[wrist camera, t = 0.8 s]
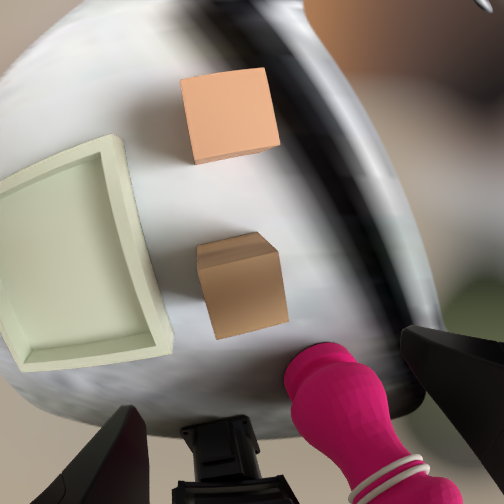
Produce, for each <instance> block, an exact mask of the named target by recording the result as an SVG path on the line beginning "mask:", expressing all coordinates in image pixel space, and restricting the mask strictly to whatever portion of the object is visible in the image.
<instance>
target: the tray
mask: <svg viewBox="0 0 504 504" xmlns="http://www.w3.org/2000/svg"><path fill="white" fill-rule="evenodd" d="M0 333H1V335H2V337H3V339H4V341H5V343H6V345H7V347H8V349H9V351H10V353H11V354H12V356H13V358H14V360H15V362H16V363H17V365H18V367H19V369H20V370H21V372H37V371H51V370H62V369H73V368H82V367H91V366H99V365H106V364H114V363H121V362H127V361H134V360H140V359H146V358H152V357H158V356H163V355H169V354H172V350H173V341H174V331H173V328H172V326H171V323H170V320H169V317H168V314H167V311H166V308H165V305H164V302H163V299H162V296H161V293H160V290H159V287H158V283H157V280H156V277H155V274H154V270H153V267H152V263H151V260H150V257H149V253H148V249H147V246H146V242H145V238H144V235H143V231H142V227H141V223H140V219H139V215H138V211H137V206H136V202H135V198H134V193H133V189H132V184H131V179H130V174H129V169H128V164H127V159H126V154H125V148H124V142H123V139H121V138H119V137H117V136H115V135H113V134H108V135H105V136H102V137H99V138H97V139H94V140H91V141H88V142H85V143H83V144H80V145H78V146H75V147H72V148H70V149H67V150H65V151H62V152H60V153H58V154H55V155H53V156H51V157H48V158H46V159H44V160H42V161H39V162H37V163H35V164H33V165H31V166H29V167H27V168H25V169H23V170H21V171H19V172H17V173H15V174H13V175H11V176H9V177H7V178H5V179H3V180H2V181H0Z"/></svg>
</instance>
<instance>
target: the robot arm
mask: <svg viewBox="0 0 504 504" xmlns="http://www.w3.org/2000/svg"><path fill="white" fill-rule="evenodd" d="M400 351H401V354H402V356H403V357H404V359H405V360H406V362H407V363H408V365H409V367H410V368H411V370H412V371H413V373H414V374H415V376H416V377H417V379H418V380H419V382H420V383H421V385H422V386H423V387H424V389H425V390H426V391H427V392H428V394H429V395H430V396H431V397H432V399H433V400H434V401H435V402H436V404H437V405H438V406H439V407H440V409H441V410H442V411H443V413H444V414H445V415H446V416H447V418H448V419H449V420H450V422H451V423H452V424H453V425H454V427H455V428H456V429H457V430H458V432H459V433H460V435H461V436H462V437H463V439H464V440H465V441H466V443H467V444H468V445H469V447H470V448H471V449H472V450H473V452H474V453H475V455H476V456H477V457H478V459H479V460H480V461H481V463H482V465H483V466H484V467H485V469H486V470H487V472H488V473H489V474H490V476H491V477H492V479H493V480H494V481H495V483H496V484H497V486H498V487H499V489H500V490H501V492H502V493H503V495H504V342H497V341H493V340H487V339H481V338H476V337H471V336H465V335H460V334H454V333H450V332H445V331H440V330H435V329H430V328H425V327H420V326H415V325H411V326H408V327H406V328H404V329H403V330H402V332H401V343H400ZM180 434H181V436H182V437H183V439H184V440H185V442H186V444H187V445H188V447H189V448H190V450H191V451H192V453H193V456H194V457H193V458H194V472H195V482H185V481H178V487H177V488H174V489H172V504H299V502H298V500H297V498H296V497H295V495H294V493H293V491H292V490H291V488H290V486H289V484H288V483H287V481H286V479H285V477H284V475H277V476H276V477H269V478H262V476H261V473H260V469H259V465H258V462H257V458H256V454H259V453H260V449H259V446H258V443H257V440H256V437H255V434H254V431H253V428H252V425H251V422H250V419H249V417H248V416H241V417H237V418H232V419H227V420H222V421H217V422H212V423H207V424H201V425H195V426H188V427H183V428H181V429H180ZM30 504H150V502H149V457H148V446H147V434H146V425H145V422H144V420H143V419H142V417H141V416H140V414H139V412H138V411H137V409H136V408H135V406H133V405H123V406H121V407H120V408H119V409H118V410H117V411H116V412H115V413H114V414H113V415H112V417H111V418H110V419H109V420H108V421H107V422H106V423H105V424H104V426H103V427H102V428H101V429H100V430H99V431H98V432H97V433H96V434H95V436H94V437H93V438H92V439H91V440H90V441H89V442H88V443H87V445H86V446H85V447H84V448H83V449H82V450H81V451H80V452H79V453H78V455H77V456H76V457H75V458H74V459H73V460H72V461H71V462H70V463H69V465H68V466H67V467H66V468H65V469H64V470H63V471H62V474H59V476H58V477H57V478H56V479H55V480H54V481H53V482H52V483H51V484H50V485H49V487H47V488H46V489H45V490H44V491H43V492H42V493H41V494H40V495H39V496H38V497H37V498H36V499H34V501H32V502H31V503H30Z"/></svg>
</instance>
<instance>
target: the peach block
mask: <svg viewBox="0 0 504 504" xmlns="http://www.w3.org/2000/svg"><path fill="white" fill-rule="evenodd" d="M180 84H181V90H182V95H183V101H184V107H185V113H186V118H187V124H188V129H189V135H190V140H191V145H192V150H193V156H194V161H195V164H196V165H198V164H203V163H208V162H212V161H217V160H222V159H227V158H233V157H238V156H244V155H249V154H255V153H260V152H262V151H265V150H268V149H270V148H273V147H276V146H279V145H280V141H279V135H278V130H277V125H276V120H275V115H274V110H273V105H272V100H271V96H270V91H269V86H268V82H267V77H266V73H265V68H255V69H245V70H236V71H229V72H221V73H215V74H209V75H203V76H197V77H192V78H187V79H182V80H180Z"/></svg>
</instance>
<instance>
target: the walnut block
mask: <svg viewBox="0 0 504 504" xmlns="http://www.w3.org/2000/svg"><path fill="white" fill-rule="evenodd" d="M197 273H198V276H199V280H200V284H201V288H202V291H203V295H204V299H205V302H206V306H207V309H208V313H209V316H210V320H211V323H212V327H213V330H214V334H215V337H216V340H219V339H223V338H227V337H231V336H236V335H240V334H244V333H248V332H252V331H256V330H259V329H263V328H267V327H271V326H275V325H278V324H282V323H285V322H289V317H288V311H287V304H286V297H285V291H284V285H283V278H282V272H281V266H280V260H279V253H278V251H277V250H276V249H275V248H274V247H273V246H272V245H271V244H270V243H269V242H268V241H267V240H266V239H265V238H264V237H262V236H261V235H260V234H259V233H258V232H255V233H251V234H246V235H242V236H237V237H233V238H228V239H224V240H220V241H215V242H211V243H207V244H202V245H198V246H197Z"/></svg>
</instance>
